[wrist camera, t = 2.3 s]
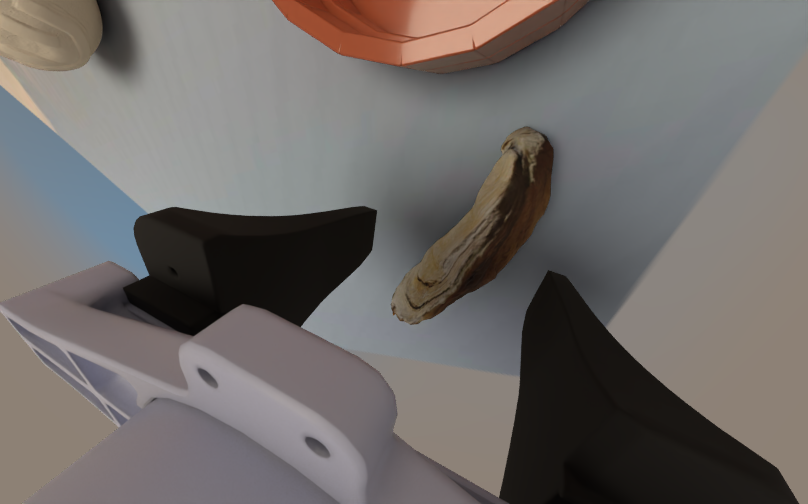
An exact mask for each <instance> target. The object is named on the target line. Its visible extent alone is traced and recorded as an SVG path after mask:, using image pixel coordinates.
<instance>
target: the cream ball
mask: <svg viewBox="0 0 808 504" xmlns="http://www.w3.org/2000/svg"><path fill="white" fill-rule="evenodd" d="M102 32H103V26H102V19H101V14H100V10H99V7H98V4H97V1H96V0H0V55H1V56H3V57H6V58H8V59H11V60H14V61H17V62H19V63H21V64H23V65H26V66H28V67H32V68H35V69H39V70H46V71H69V70H74V69H77V68H80V67H82V66H84V65H85V64H86V63H87V62H88V61H89V59H90V56H91V55H92V54H93V53H94V52H95V51H96V49H97V47H98V46H99V43H100V41H101V38H102Z"/></svg>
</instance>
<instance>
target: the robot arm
mask: <svg viewBox="0 0 808 504" xmlns="http://www.w3.org/2000/svg"><path fill="white" fill-rule="evenodd" d="M376 215H377V210H374V209H371V208H368V207H365V206H359V207H350V208H344V209H338V210H332V211H326V212H318V213H311V214H303V215H291V216H242V215H229V214H219V213H211V212H204V211H197V210H191V209H184V208H179V207H171V208H167V209H163V210H160V211H157V212H153V213H150V214H147V215H143V216H140V217H139V218H138V219H137V220H136V222H135V225H134V236H135V239H136V242H137V246H138V248H139V251H140V253H141V256H142V258H143V261H144V263H145V266H146V268H147V270H148V273H149V276H147V277H145V278H143V279H141V280H139V279H138V278H137V277H136V276H135V275H134V274H133V273H132V272H130V271H128V270H126V269H125V268H123V267H121V266H119V265H117V264H116V263H114V262H110V261H107V262H105V263H102V264H99V265H97V266H94V267H92V268H89V269H86V270H84V271H81V272H78V273H76V274H73V275H71V276H68V277H65V278H63V279H60V280H58V281H55V282H52V283H50V284H47V285H44V286H42V287H39V288H36V289H34V290H31V291H28V292H26V293H23V294H21V295H18V296H15V297H13V298H10V299H8V300H5V301H2V302H0V312H1V313H2V314H3V315H4V317H5V318H6V319H7V320H8V321H9V323H10V324H11V325H12V326H13V327H14V329H15V330H16V331H17V332H18V334H19V335H20V336H21V337H22V338H23V339H24V341H25V342H26V343H27V344H28V346H29V347H30V348H31V349H32V350H33V352H34V353H35V354H36V355H37V357H38V358H39V359H40V360H41V361H42V362H43V364H44V365H46V366H47V367H48V368H49V369H50V370H52V371H53V372H54V373H55V374H57V375H58V376H59V377H61V378H62V379H63V380H64V381H65V382H67V383H68V384H69V385H70V386H72V387H73V388H74V389H75V390H76V391H78V392H79V393H80V394H81V395H82V396H84V397H85V398H86V399H87V400H88V401H89V402H90V403H92V404H93V405H94V406H95V407H96V408H97V409H99V410H100V411H101V412H102V413H103V414H104V415H106V416H107V417H108V418H109V419H110V420H111V421H112V422H113V423H115V424H116V425H117V426H118V427H119V428H118V429H116V430H115V431H114V432H113V433H111V434H110V435H109V436H107V437H106V438H105V439H103V440H102V441H101V442H100V443H98V444H97V445H96V446H95V447H93V448H92V449H91V450H89V451H88V452H87V453H85V454H84V455H83V456H82V457H81V458H79V459H78V460H76V461H75V462H74V463H73V464H71V465H70V466H69V467H67V468H66V469H65V470H64V471H62V472H61V473H60V474H59V475H57V476H56V477H55V478H53V479H52V480H51V481H50V482H48V483H47V484H46V485H44V486H43V487H42V488H41V489H39V490H38V491H37V492H36V493H34V494H33V495H32V496H30V497H29V498H28V499H26V500H25V501H24V502H23V503H21V504H799V503H798V501H797V499H796V498H795V496H794V494H793V493H792V491H791V489H790V488H789V486H788V485H787V483H786V481H785V480H784V478H783V476H782V475H781V473H780V471H779V470H778V469H777V468H776V467H775V466H773V465H772V464H771V463H769V462H768V461H766V460H765V459H763V458H762V457H761V456H759V455H757V454H756V453H755V452H753V451H752V450H750V449H749V448H748V447H746V446H745V445H743V444H742V443H740V442H739V441H737V440H736V439H734V438H733V437H731V436H730V435H729V434H727V433H726V432H724V431H722V430H721V429H720V428H718V427H717V426H716V425H714V424H713V423H712V422H710V421H709V420H708V419H706V418H705V417H704V416H702V415H701V414H700V413H699V412H697V411H696V410H694V409H693V408H692V407H691V406H689V405H688V404H687V403H685V402H684V401H683V400H682V399H680V398H679V397H678V396H677V395H675V394H674V393H673V392H672V391H670V390H669V389H668V388H667V387H665V386H664V385H663V384H662V383H661V382H660V381H659V380H657V379H656V378H655V377H654V376H653V375H652V374H651V373H650V372H648V371H647V370H646V369H645V368H644V367H643V366H642V365H641V364H640V363H639V362H637V361H636V360H635V359H634V358H633V357H632V356H631V355H630V354H629V353H628V352H627V351H626V350H625V349H624V348H623V347H622V346H621V345H620V344H619V342H618V341H617V340H616V339H615V338H614V337H613V336H612V335H611V334H610V333H609V331H608V330H607V329H606V328H605V327H604V325H603V324H602V323H601V322H600V321H599V320H598V318H597V317H596V316H595V315H594V313H593V312H592V311H591V309H590V308H589V307H588V305H587V304H586V303H585V301H584V300H583V299H582V297H581V296H580V294H579V293H578V292H577V290H576V289H575V287H574V286H573V285H572V283H571V282H570V281H569V279H568V278H567V277H566V276H564V275H561V274H558V273H555V272H552V271H549V270H548V272H547V273H546V275H545V277H544V279H543V281H542V283H541V285H540V286H539V288H538V290H537V292H536V294H535V296H534V297H533V299H532V301H531V303H530V305H529V307H528V309H527V311H526V315H525V320H524V325H523V330H522V345H521V368H520V388H519V396H518V402H517V409H516V415H515V421H514V427H513V432H512V437H511V443H510V448H509V453H508V458H507V463H506V468H505V473H504V478H503V482H502V487H501V491H500V496H499V498H498V497H496V496H495V495H493V494H491V493H489V492H488V491H486V490H484V489H482V488H481V487H479V486H477V485H475V484H474V483H472V482H470V481H468V480H467V479H465V478H463V477H461V476H460V475H458V474H456V473H455V472H453V471H451V470H449V469H448V468H446V467H444V466H442V465H441V464H439V463H437V462H435V461H434V460H432V459H430V458H428V457H426V456H425V455H423V454H421V453H420V452H418V451H416V450H414V449H413V448H412V447H411V446H410V445H408V444H407V443H406V442H405V441H404V440H402V439H401V438H400V437H399V436H397V435H396V434H395V433H394V432H393V428H394V425H395V421H396V418H397V407H396V400H395V395H394V393H393V390H392V389H391V388H390V386H389V385H388V383H387V382H386V381H385V379H384V378H383V377H382V375H381V374H380V373H379V371H377V370H376V369H374V368H373V367H372V366H370V365H369V364H368V363H366V362H365V361H363V360H362V359H361V358H359V357H358V356H356V355H354V354H352V353H350V352H348V351H346V350H344V349H342V348H340V347H338V346H336V345H334V344H332V343H330V342H328V341H326V340H324V339H322V338H320V337H319V336H317V335H315V334H313V333H311V332H309V331H307V330H305V329H303V328H301V326H302V325H303V323H304V322H305V321H306V320H307V318H308V317H309V316H310V315H311V314H312V312H313V311H314V310H315V309H316V308H317V307H318V305H319V304H320V303H321V302H322V301H323V300H324V299H325V298H326V297H327V296H328V295H329V294H330V293H331V292H332V291H333V290H334V289H335V288H337V287H338V286H339V285H340V284H341V283H342V282H343V281H344V280H345V279H346V278H347V277H348V276H350V275H351V274H352V273H353V272H354V271H355V270H356V269H357V268H358V267H359V266H360V265H361V264H362V263H363V261H364V260H365V259H366V258H367V256H368V255H369V254H370V252H371V251H372V247H373V239H374V231H375V223H376Z"/></svg>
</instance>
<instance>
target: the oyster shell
mask: <svg viewBox="0 0 808 504" xmlns="http://www.w3.org/2000/svg"><path fill="white" fill-rule="evenodd" d="M501 151H502V153H503V155H502V157H501V158H500V159H499V160H498V161H497V163H496V164H495V166H494V168H493V169H492V171H491V173H490V174H489V176H488V177H487V179H486V180H485V182H484V184H483V185H482V187H481V189H480V191H479V193H478V195H477V198H476V201H475V204H474V206H473V207H472V209H471V210H470V211H469V212H468V213H467V214H466V215H465V216H464V217H463V218H462V219H461V220H460V222H459V223H458V224H457V225H456V226H455V227H453V228H452V229H451V230H450V231H449V232H448V233H447V234H446V235H445V236H444V237H442V238H440V239H439V240H437V241H436V242H435V243H434V244H433V245H432V246H431V247H430V248H429V249H428V251H427V252H426V254H425V255H424V257H423V259H422V261H421V262H420V263H419V264H418V265H416V266H415V267H413V268H412V269H411V270H410V271H409V272H408V273H407V274H406V275H405V277H404V278H403V280H402V282H401V283H400V284H399V286H398V287H397V288H396V291H395V293H394V294H393V297H392V303H391V306H392V308H391V309H392V311H393V315H395V314H396V315H397V317H398V319H399V320H400V321H405V322H407V323H409V324H410V325H412V324H419V323H420V322H421V321H422V320H427V319H431V318H433V317H435V316H436V315H438V314H439V313H441V312H442V311H444V309H445V308H446V307H447V306H449V305H450V304H452V303H454V302H455V301H456V300H458V299H460V298H462V297H463V296H464V295H466V294H467V293H470V292H473V291H475V290H477V289H479V288H480V287H482V286H483V285H485V284H487V283H488V282H490V281H492V280H493V279H495V278H496V276H497V274H498V273H499V272H500V271H501V270H502V269H503V268H504V267H505V266H506V265H507V263H508V262H509V261H510V260H511V259H512V258H513V256H514V255H515V254H516V253H517V251H518V250H519V248H520V247H521V246H522V245H523V244H524V243H525V242H526V240H527V239H528V238H529V237H530V236H531V234H532V232H533V230H534V227H535V225H536V223H537V222H538V220H539V219H540V218H541V217H542V216H543V215H544V213H545V210H546V208H547V205H548V203H549V199H550V195H551V174H552V166H553V147H552V145H551V144H550V142H549V140H548V138H547V137H546V136H545V135H544V134H542V133H540V132H537V131H535V130H532V129H531V128H530V127H523V128H520V129H518V130H516V131H514V132H513V133H511V134H510V135H509V136H508V137H507V138H506V140H505V142H504V143H503V145H502V146H501Z"/></svg>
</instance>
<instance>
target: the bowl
mask: <svg viewBox="0 0 808 504" xmlns="http://www.w3.org/2000/svg"><path fill="white" fill-rule="evenodd" d="M272 1H273V2H274V4H275V5H276V6H277V7H278V9H279V10H280V11H281V12H282V14H283V15H284V16H285V17H286V18H287V20H288V21H290V22H291V23H293V24H294V25H296V26H297V27H299V28H300V29H302V30H303V31H305V32H306V33H308V34H309V35H311V36H312V37H314V38H315V39H317V40H318V41H320V42H321V43H323V44H324V45H326V46H327V47H329V48H330V49H332V50H333V51H335V52H336V53H338V54H340V55H343V56H348V57H353V58H358V59H363V60H368V61H373V62H378V63H384V64H389V65H394V66H399V67H404V68H410V69H415V70H420V71H425V72H431V73H436V74H444V73H449V72H454V71H460V70H465V69H470V68H475V67H480V66H485V65H491V64H495V63H498V62H500V61H501V60H503V59H505V58H507V57H509V56H510V55H512V54H514V53H516V52H517V51H519V50H521V49H523V48H525V47H526V46H528V45H530V44H532V43H534V42H535V41H537V40H539V39H541V38H543V37H544V36H546V35H548V34H550V33H551V32H553V31H555V30H557V29H559V28H560V25H561V26H562V25H564V24H565V23H566V22H567V21H568V20H569V19H570V18H571V17H572V16H573V15H574V14H575V13H576V12H577V11H578V10H579V9H581V8H582V7H583V6H584V5H585V4H586V3H587V2H588V1H589V0H272Z"/></svg>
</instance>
